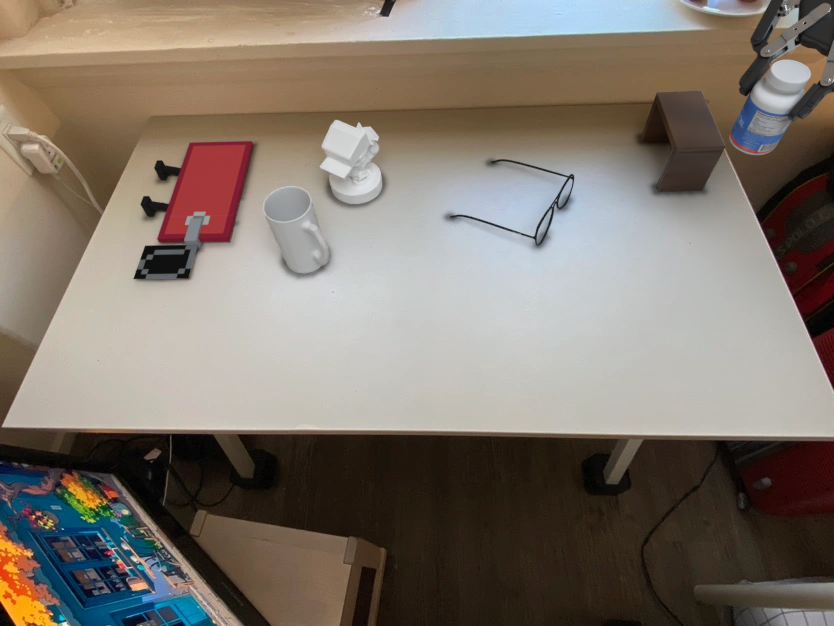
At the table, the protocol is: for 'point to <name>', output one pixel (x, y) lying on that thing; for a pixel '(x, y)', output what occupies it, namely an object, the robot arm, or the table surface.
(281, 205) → the mug
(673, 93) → the walnut shelf
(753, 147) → the pill bottle
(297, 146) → the table surface
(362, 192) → the character figurine
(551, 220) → the glasses
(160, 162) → the red board with handle
